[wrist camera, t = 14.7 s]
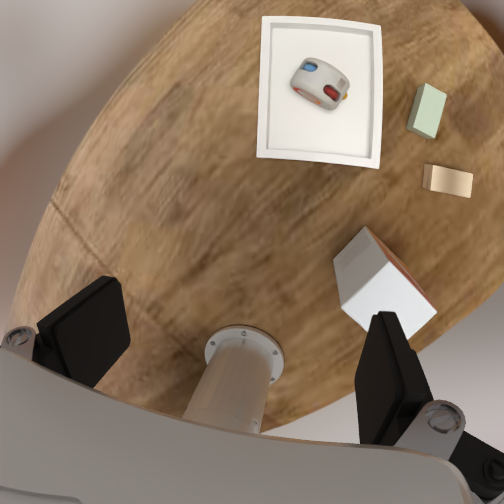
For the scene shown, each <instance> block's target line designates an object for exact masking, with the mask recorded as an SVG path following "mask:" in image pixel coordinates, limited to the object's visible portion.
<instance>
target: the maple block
mask: <svg viewBox="0 0 504 504" xmlns="http://www.w3.org/2000/svg"><path fill="white" fill-rule="evenodd" d="M472 179H473V174H470V173H466V172H462V171H458V170H454V169H449V168H445V167H440V166H435V165H430V164H425V167H424V177H423V186H422V187H423V188H426V189H429V190H433V191H438V192H443V193H448V194H453V195H458V196H463V197H468V198H470V195H471V188H472Z"/></svg>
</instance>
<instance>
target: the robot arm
mask: <svg viewBox="0 0 504 504" xmlns="http://www.w3.org/2000/svg"><path fill="white" fill-rule="evenodd" d="M36 324H37V327H38V330H39V333H38V334H37V335H36V332H35V330H34V329H33V328H31V327H28V326H21V327H16V328H14V329H12V330H10V331H9V332H8V333H7V334H6V335H5V336H4V338H3V341H2V344H1V346H0V504H504V453H502V452H500V451H499V450H497V449H495V448H493V447H492V446H490V445H488V444H486V443H484V442H483V441H481V440H479V439H478V438H476V437H474V436H472V435H470V434H469V433H467V432H465V431H464V428H465V424H466V421H465V416H464V414H463V412H462V410H461V409H460V408H459V407H458V406H456V405H455V404H453V403H451V402H448V401H446V400H434V399H433V396H432V394H431V391H430V388H429V386H428V382H427V380H426V377H425V375H424V372H423V370H422V367H421V364H420V362H419V359H418V357H417V354H416V352H415V350H413V349H411V348H410V345H409V343H408V341H407V338H406V336H405V333H404V331H403V328H402V326H401V324H400V321H399V319H398V317H397V314H396V313H395V312H392V311H379V312H378V314H377V315H376V314H373V316H372V318H371V322H370V326H369V330H368V333H367V337H366V340H365V344H364V347H363V351H362V354H361V358H360V361H359V364H358V367H357V371H356V374H355V392H356V401H357V412H358V424H359V438H360V444H353V443H337V442H321V441H310V440H301V439H292V438H284V437H276V436H268V435H262V434H259V430H260V426H261V421H262V417H263V413H264V408H265V404H266V399H267V394H268V390H269V385H271V384H273V383H274V382H275V381H276V380H277V379H278V378H279V377H280V375H281V374H282V371H283V367H284V355H283V352H282V349H281V348H280V346H279V345H278V343H277V342H276V341H275V340H274V339H273V338H272V337H270V336H269V335H268V334H266V333H265V332H263V331H261V330H259V329H256V328H253V327H248V326H237V325H235V326H228V327H225V328H222V329H220V330H218V331H217V332H215V333H214V334H213V335H212V336H211V337H210V339H209V340H208V342H207V344H206V346H205V352H204V353H205V360H206V363H207V367H206V369H205V371H204V373H203V375H202V377H201V379H200V381H199V383H198V385H197V387H196V389H195V391H194V394H193V396H192V398H191V400H190V402H189V404H188V406H187V408H186V410H185V412H184V414H183V416H182V418H180V417H177V416H173V415H169V414H166V413H162V412H159V411H156V410H152V409H149V408H146V407H143V406H140V405H137V404H134V403H131V402H128V401H125V400H122V399H119V398H117V397H114V396H111V395H109V394H106V393H103V392H101V391H98V390H96V389H93V388H94V387H95V386H96V384H97V383H98V382H99V381H100V380H101V378H102V377H103V376H104V375H105V374H106V372H107V371H108V370H109V369H110V368H111V367H112V365H113V364H114V363H115V362H116V361H117V360H118V358H119V357H120V356H121V355H122V354H123V353H124V351H125V350H126V349H127V348H128V347H129V345H130V341H131V339H130V333H129V328H128V323H127V318H126V312H125V306H124V301H123V294H122V288H121V284H120V283H119V282H118V280H117V279H116V278H115V277H109V276H101V277H100V278H98V279H97V280H95V281H94V282H92V283H91V284H90V285H88V286H87V287H85V288H84V289H82V290H81V291H80V292H78V293H77V294H75V295H74V296H73V297H71V298H70V299H69V300H67V301H66V302H64V303H63V304H62V305H60V306H59V307H58V308H56V309H55V310H54V311H52V312H51V313H50V314H48V315H47V316H46V317H44V318H43V319H42V320H40V321H39V322H38V323H36Z"/></svg>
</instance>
